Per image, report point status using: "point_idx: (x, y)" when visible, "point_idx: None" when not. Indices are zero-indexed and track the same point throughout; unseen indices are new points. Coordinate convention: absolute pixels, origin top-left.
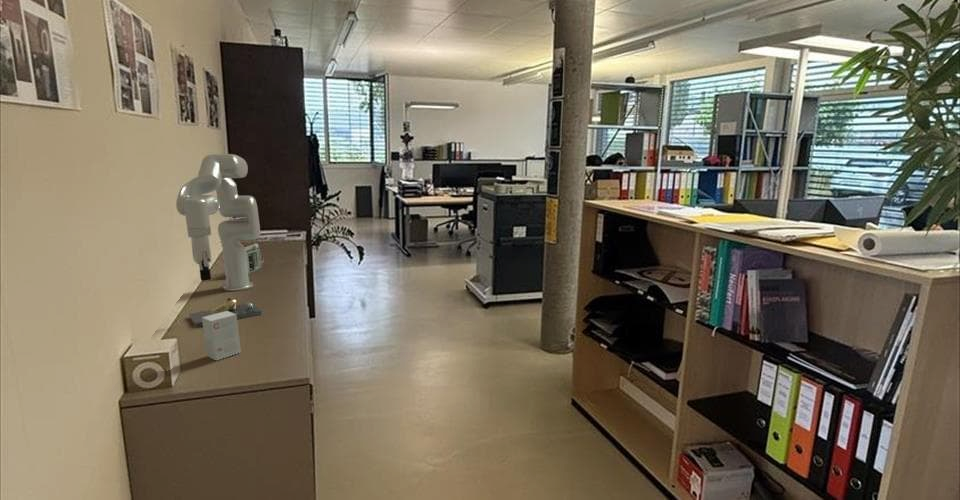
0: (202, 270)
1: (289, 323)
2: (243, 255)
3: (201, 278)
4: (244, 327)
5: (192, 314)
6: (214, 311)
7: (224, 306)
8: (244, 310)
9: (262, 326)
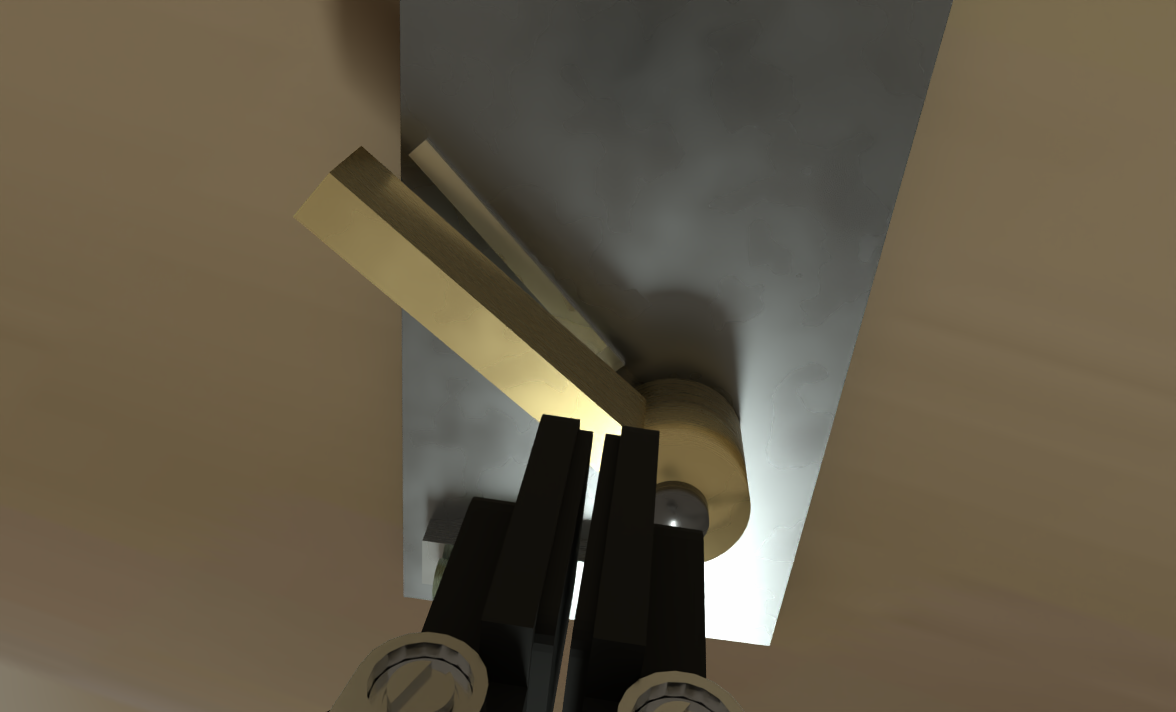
0: (409, 665)
1: (6, 607)
2: None
3: (534, 445)
4: (84, 335)
5: (875, 21)
6: (297, 213)
7: (507, 382)
8: None
9: (31, 451)
